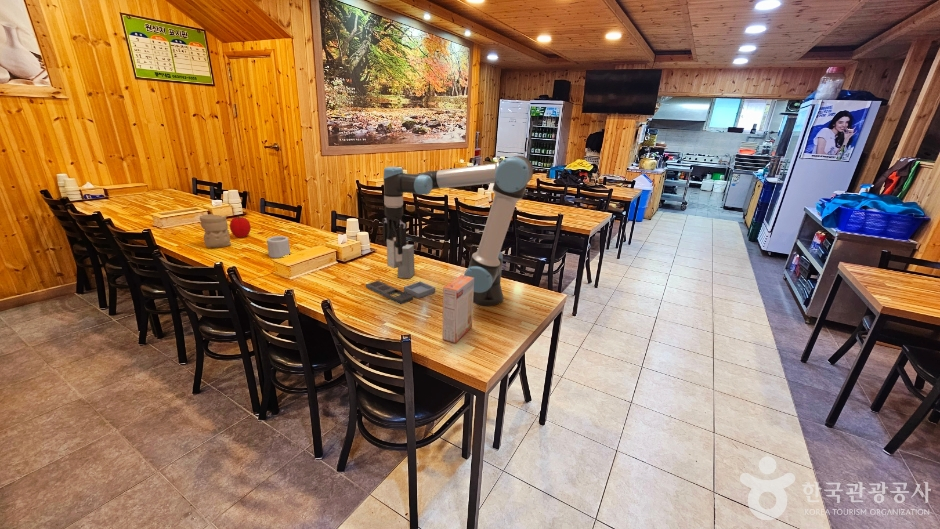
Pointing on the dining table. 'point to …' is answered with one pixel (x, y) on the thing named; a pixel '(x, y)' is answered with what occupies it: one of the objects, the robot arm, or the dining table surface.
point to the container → (215, 230)
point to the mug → (278, 246)
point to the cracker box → (457, 308)
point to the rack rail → (389, 292)
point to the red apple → (240, 227)
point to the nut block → (392, 254)
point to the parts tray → (419, 289)
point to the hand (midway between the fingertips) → (394, 259)
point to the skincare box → (407, 262)
